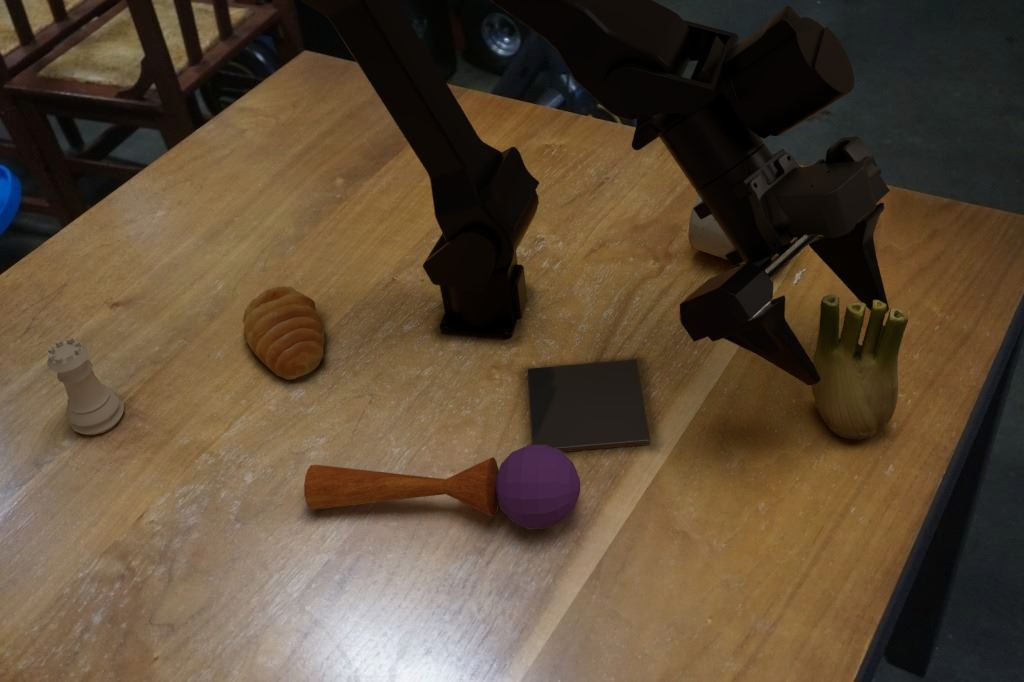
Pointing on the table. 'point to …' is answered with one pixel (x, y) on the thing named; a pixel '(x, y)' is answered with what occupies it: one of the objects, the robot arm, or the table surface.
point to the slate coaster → (588, 406)
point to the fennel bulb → (857, 367)
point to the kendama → (464, 486)
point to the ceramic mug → (709, 235)
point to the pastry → (285, 331)
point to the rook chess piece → (84, 389)
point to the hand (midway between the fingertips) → (850, 347)
